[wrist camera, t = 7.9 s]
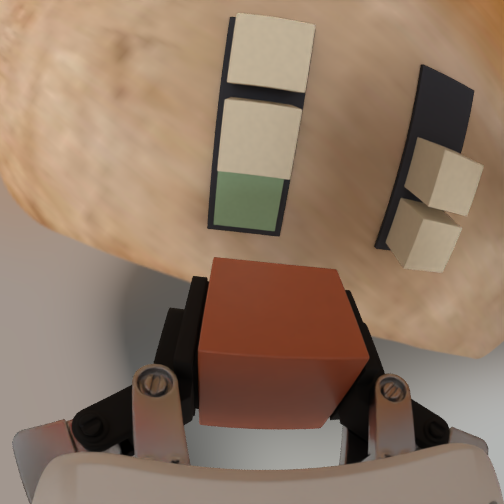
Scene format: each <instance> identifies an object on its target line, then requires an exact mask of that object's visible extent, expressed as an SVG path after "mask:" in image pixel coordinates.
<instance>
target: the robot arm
mask: <svg viewBox="0 0 504 504" xmlns="http://www.w3.org/2000/svg"><path fill="white" fill-rule="evenodd" d="M208 286H209V282H208V281H207V277H198V276H193V278H192V282H191V286H190V290H189V294H188V298H187V302H186V306H185V309H177V308H169V311H168V313H167V317H166V320H165V324H164V328H163V331H162V334H161V338H160V341H159V345H158V349H157V352H156V356H155V360H154V364H149V365H146V366H143V367H141V368H140V369H139V370H137V371H136V373H135V374H134V376H133V380H132V385H131V386H129V387H127V388H125V389H123V390H121V391H119V392H117V393H115V394H113V395H111V396H110V397H107V398H105V399H103V400H101V401H99V402H97V403H95V404H93V405H91V406H89V407H87V408H85V409H83V410H81V411H80V412H78V413H77V414H76V415H75V417H74V418H73V419H72V420H69V421H66V420H65V419H63V420H59V421H56V422H52V423H49V424H45V425H41V426H37V427H33V428H29V429H24V430H21V431H19V432H18V433H17V434H16V435H15V436H14V439H13V442H12V443H13V451H14V455H15V459H16V463H17V466H18V470H19V473H20V476H21V480H22V483H23V486H24V489H25V492H26V495H27V497H28V500H29V503H30V504H504V502H503V497H502V493H501V489H500V486H499V482H498V479H497V476H496V473H495V470H494V467H493V465H492V463H491V461H490V459H489V457H488V446H487V444H486V442H485V441H484V440H483V439H481V438H479V437H476V436H473V435H471V434H468V433H466V432H464V431H461V430H459V429H456V428H454V427H451V428H450V429H449V427H448V424H447V423H446V422H445V420H443V419H442V418H441V417H439V416H438V415H436V414H434V413H433V412H431V411H430V410H428V409H427V408H425V407H423V406H422V405H420V404H418V403H417V402H415V401H414V400H412V399H411V395H410V389H409V386H408V384H407V383H406V381H405V380H404V379H402V378H401V377H399V376H398V375H395V374H385V373H384V370H383V367H382V364H381V361H380V359H379V356H378V353H377V351H376V348H375V345H374V343H373V340H372V337H371V335H370V332H369V330H368V327H367V325H366V324H365V323H363V321H362V318H361V316H360V313H359V311H358V308H357V306H356V303H355V301H354V298H353V296H352V294H351V292H350V291H349V290H345V292H346V294H347V297H348V300H349V302H350V305H351V307H352V310H353V313H354V315H355V318H356V321H357V323H358V326H359V329H360V332H361V334H362V337H363V340H364V343H365V346H366V348H367V351H368V354H369V360H368V362H367V363H366V365H365V366H364V368H363V369H362V371H361V373H360V374H359V376H358V377H357V379H356V380H355V382H354V383H353V385H352V386H351V388H350V389H349V390H348V392H347V393H346V395H345V396H344V398H343V399H342V400H341V402H340V403H339V405H338V406H337V407H336V409H335V410H334V411H333V413H332V414H331V416H330V420H336V419H340V423H341V424H342V425H343V428H342V441H341V453H340V463H339V466H331V467H322V468H308V469H293V470H236V469H220V468H208V467H198V466H191V465H190V460H189V454H188V449H187V443H186V436H185V431H184V425H185V424H187V423H188V422H190V421H191V420H192V418H193V416H194V415H195V409H199V396H198V346H199V340H200V334H201V327H202V321H203V315H204V309H205V303H206V297H207V292H208ZM133 455H135V457H131V456H133Z"/></svg>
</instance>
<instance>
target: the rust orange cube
mask: <svg viewBox="0 0 504 504" xmlns="http://www.w3.org/2000/svg"><path fill="white" fill-rule="evenodd" d="M368 360H369V354H368V351H367V348H366V346H365V343H364V340H363V337H362V334H361V332H360V329H359V326H358V323H357V321H356V318H355V315H354V313H353V310H352V307H351V305H350V302H349V300H348V297H347V294H346V292H345V289H344V287H343V284H342V282H341V279H340V277H339V274H338V272H337V270H336V269H327V268H317V267H306V266H296V265H286V264H276V263H267V262H257V261H247V260H237V259H228V258H218V257H214V259H213V264H212V269H211V275H210V280H209V286H208V292H207V297H206V303H205V309H204V315H203V321H202V327H201V334H200V340H199V346H198V396H199V423H200V424H201V425H208V426H218V427H231V428H248V429H315V428H321V427H322V426H323V425H324V423H325V422H326V421H327V419H328V418H329V417H330V416H331V414H332V413H333V411H334V410H335V409H336V407H337V406H338V405H339V403H340V402H341V400H342V399H343V398H344V396H345V395H346V393H347V392H348V390H349V389H350V388H351V386H352V385H353V383H354V382H355V380H356V379H357V377H358V376H359V374H360V373H361V371H362V369H363V368H364V366H365V365H366V363H367V362H368Z"/></svg>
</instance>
